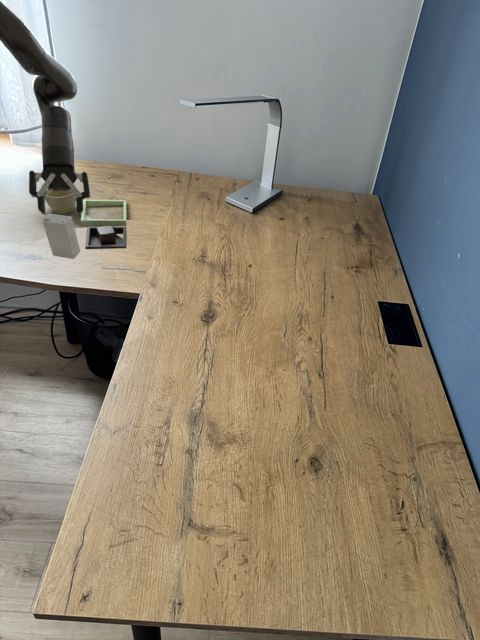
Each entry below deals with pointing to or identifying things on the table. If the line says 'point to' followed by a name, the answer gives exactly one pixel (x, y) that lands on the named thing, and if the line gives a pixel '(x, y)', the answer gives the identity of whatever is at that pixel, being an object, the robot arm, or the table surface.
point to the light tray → (90, 222)
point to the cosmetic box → (61, 236)
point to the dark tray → (94, 244)
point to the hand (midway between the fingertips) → (61, 213)
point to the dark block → (106, 235)
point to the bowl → (61, 201)
